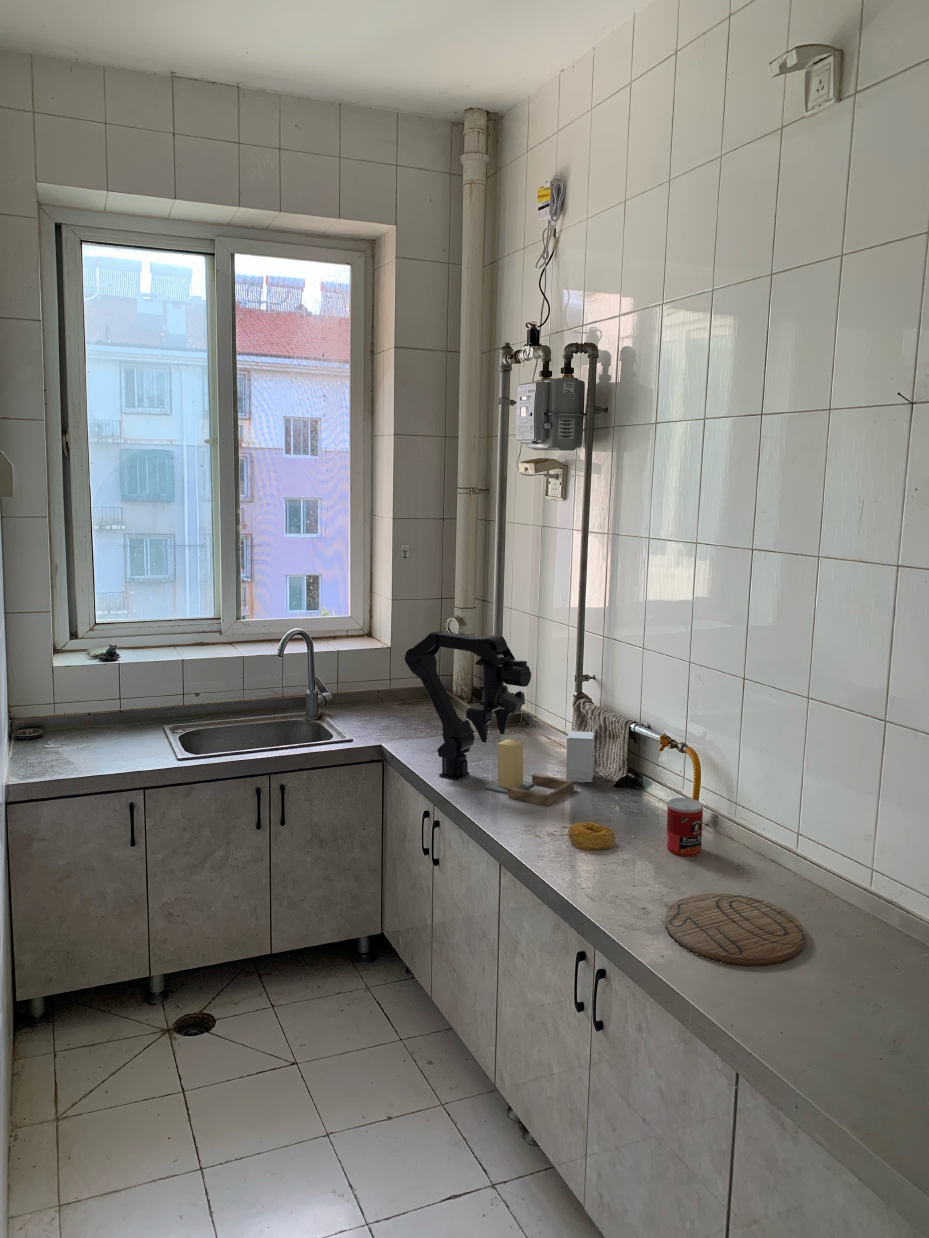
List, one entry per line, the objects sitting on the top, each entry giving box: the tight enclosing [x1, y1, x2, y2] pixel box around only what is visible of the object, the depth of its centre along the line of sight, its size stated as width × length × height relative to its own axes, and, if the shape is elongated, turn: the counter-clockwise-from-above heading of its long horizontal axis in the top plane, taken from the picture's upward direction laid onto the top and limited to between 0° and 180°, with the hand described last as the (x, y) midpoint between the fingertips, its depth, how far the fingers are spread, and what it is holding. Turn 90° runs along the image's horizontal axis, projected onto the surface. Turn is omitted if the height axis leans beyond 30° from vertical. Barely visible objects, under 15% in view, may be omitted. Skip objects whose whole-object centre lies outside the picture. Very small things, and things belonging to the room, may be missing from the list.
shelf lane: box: [507, 773, 575, 807], centre depth 245 cm, size 12×14×2 cm
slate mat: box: [483, 778, 535, 795], centre depth 251 cm, size 10×10×1 cm
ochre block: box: [497, 738, 524, 788], centre depth 250 cm, size 5×5×12 cm
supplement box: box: [565, 730, 595, 783], centre depth 257 cm, size 7×7×13 cm
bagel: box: [567, 821, 616, 851], centre depth 213 cm, size 10×11×5 cm
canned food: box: [666, 797, 704, 857], centre depth 208 cm, size 8×8×11 cm
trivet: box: [665, 892, 806, 967], centre depth 172 cm, size 25×25×2 cm
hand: (493, 738), depth 252 cm, fingers open, 9 cm apart
